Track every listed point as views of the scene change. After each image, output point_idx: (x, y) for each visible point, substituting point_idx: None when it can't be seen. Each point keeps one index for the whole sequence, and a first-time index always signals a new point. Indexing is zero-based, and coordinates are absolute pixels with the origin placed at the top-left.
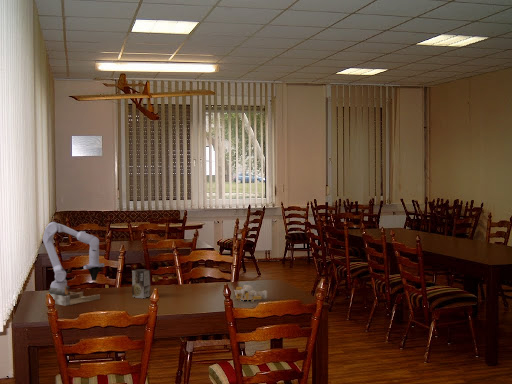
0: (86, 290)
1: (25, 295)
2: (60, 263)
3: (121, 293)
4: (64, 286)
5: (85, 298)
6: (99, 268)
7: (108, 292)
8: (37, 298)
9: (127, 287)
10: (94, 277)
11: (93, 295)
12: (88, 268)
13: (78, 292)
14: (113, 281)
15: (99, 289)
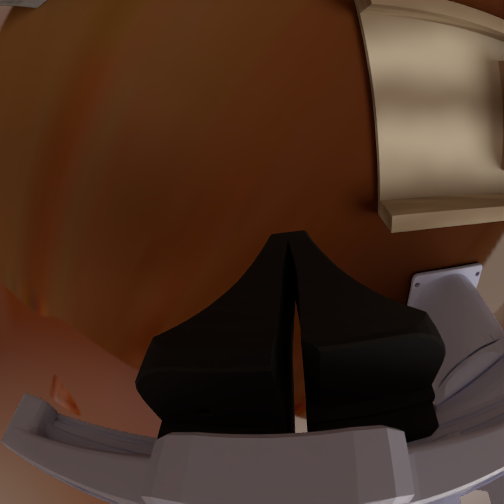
0: None
1: None
2: (490, 494)
3: (66, 142)
4: (481, 318)
5: (499, 20)
6: (170, 360)
7: (120, 232)
8: (499, 321)
9: (16, 284)
10: (316, 246)
11: (433, 8)
12: (501, 399)
13: (428, 223)
14: (59, 388)
15: (136, 337)
